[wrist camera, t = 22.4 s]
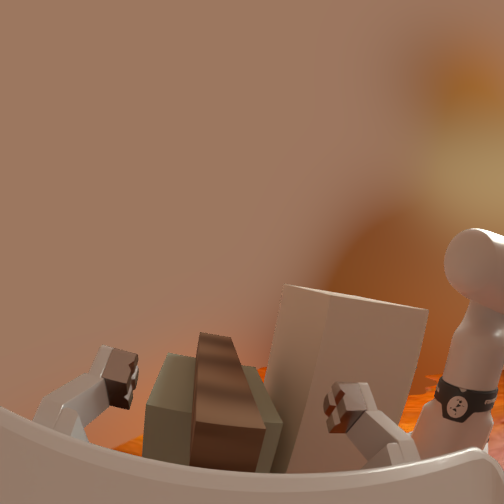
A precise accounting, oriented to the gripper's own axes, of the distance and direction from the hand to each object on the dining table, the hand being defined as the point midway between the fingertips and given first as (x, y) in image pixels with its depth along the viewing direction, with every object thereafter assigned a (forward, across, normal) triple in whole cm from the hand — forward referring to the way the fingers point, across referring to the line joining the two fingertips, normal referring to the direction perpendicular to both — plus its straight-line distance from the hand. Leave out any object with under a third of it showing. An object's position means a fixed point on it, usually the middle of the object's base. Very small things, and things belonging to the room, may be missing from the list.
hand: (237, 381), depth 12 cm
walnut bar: (+8, 0, -12) cm, 14 cm away
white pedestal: (+4, +12, -28) cm, 31 cm away
